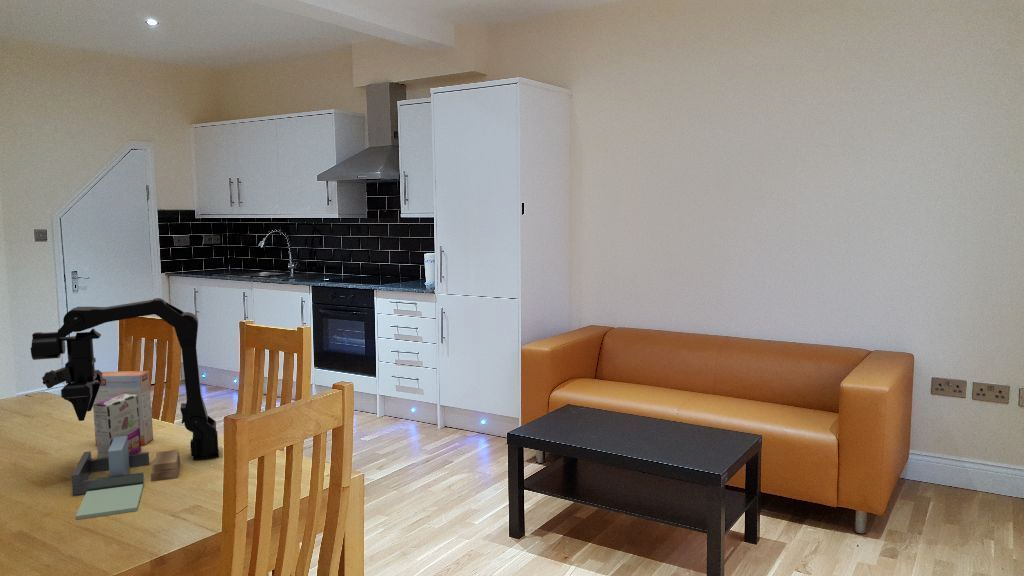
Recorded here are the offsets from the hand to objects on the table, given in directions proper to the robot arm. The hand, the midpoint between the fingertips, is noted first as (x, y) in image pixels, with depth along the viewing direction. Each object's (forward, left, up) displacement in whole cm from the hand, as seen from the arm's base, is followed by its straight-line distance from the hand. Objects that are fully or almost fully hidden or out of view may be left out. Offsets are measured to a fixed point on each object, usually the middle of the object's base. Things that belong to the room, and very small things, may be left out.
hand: (85, 415), depth 186 cm
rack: (-7, +9, -15) cm, 18 cm away
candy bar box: (-6, -8, -15) cm, 18 cm away
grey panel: (-8, +9, -15) cm, 19 cm away
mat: (-8, +26, -15) cm, 31 cm away
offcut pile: (-19, +9, -15) cm, 25 cm away
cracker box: (-6, -21, -15) cm, 27 cm away
